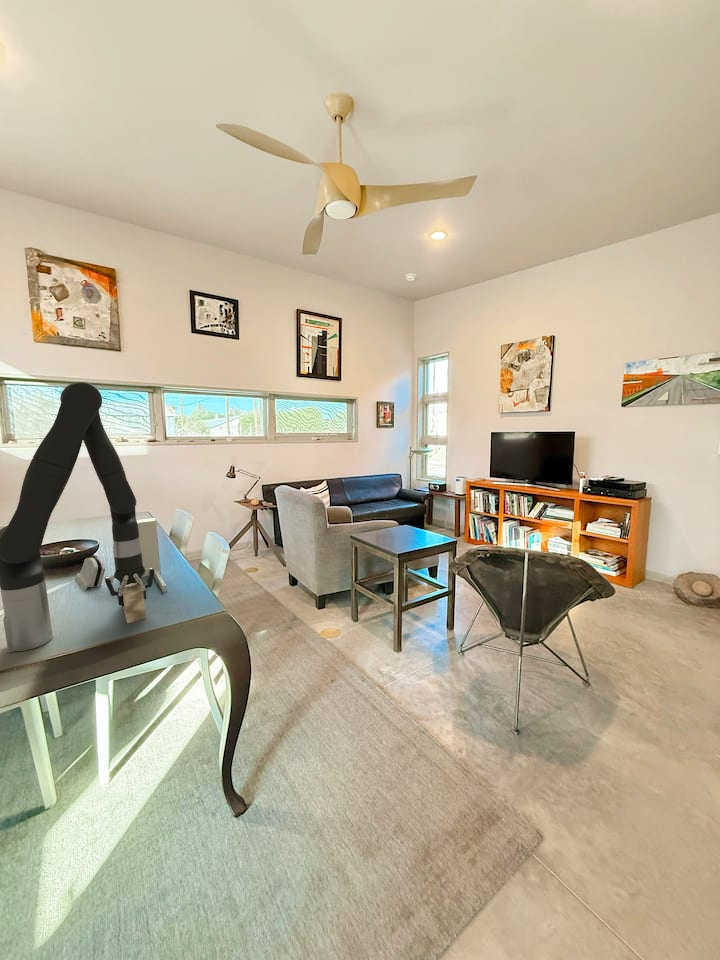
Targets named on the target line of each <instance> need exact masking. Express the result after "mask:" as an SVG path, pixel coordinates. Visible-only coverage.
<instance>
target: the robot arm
mask: <svg viewBox="0 0 720 960" xmlns="http://www.w3.org/2000/svg"><path fill="white" fill-rule="evenodd" d="M102 404H103V397H102V394H101V392H100V391H99V389H98V387H96V386H94V384H91V383H89V382H85V381H77V382H73V383H70V384H68V385H67V386H66V387H65V388H64V389H63V390H62V391H61V393H60V405H59V409H58V412H57V415H56V416H55V420H54V422H53V424H52V425H51V428H50V429H49V430H48V432H47V433H46V435H45V436H44V438H43V439H42V440H41V442H40V443H39V445H38V448H37V449H36V450H35V452H34V454H33V456H32V459H31V461H30V463H29V465H28V467H27V470H26V472H25V475H24V478H23V482H22V486H21V489H20V495H19V499H18V500H19V501H18V503H17V507H16V510H15V512H14V513H13V515H12V517H11V519H10V520H9V523H7V525H5V526H4V527H2V528H0V595H1V601H2V609H3V613H4V617H3V620H2V621H3V626H4V633H5V634H4V635H5V640H6V646H7V647H6V648H7V652H8V653H13V652H24V651H30V650H33V649H35V648H38V647H42V646H43V645H45V644H47V643H49V642H50V641H51V640H52V639H53V637H54V636H53V628H52V627H53V626H52V621H51V613H50V605H49V597H48V591H47V583H46V575H45V569H44V566H43V561H42V556H41V548H42V545H43V541H44V537H45V534H46V531H47V527H48V524H49V521H50V518H51V516H52V513H53V511H54V510H55V507H56V506H57V504H58V502H59V500H60V498H61V497H62V494H63V492H64V491H65V489H66V486H67V484H68V482H69V481H70V478H71V475H72V473H73V471H74V468H75V465H76V463H77V460H78V457H79V453H80V450H81V447H82V445H83V443H84V445H85V448H86V450H87V453H88V457H89V458H90V461H91V464H92V466H93V469H94V470H95V473H96V476H97V478H98V480H99V482H100V484H101V485H102V488H103V490H104V494H105V497H106V500H107V503H108V506H109V511H110V516H111V517H110V518H111V522H112V524H111V531H112V532H111V533H112V543H113V544H112V554H113V558H114V559H113V561H114V570H115V571H114V573H113V575H110V576H108V575H107V576H104V577H103V580H104V582H105V585H106V586H107V589H108V591H109V595H110V596H112V597H114V596H117V601H118V605H119V606H121V608H123V607H124V600H123V590H122V589H125V586H126V585H129V584H131V583H138V585H141V587H142V589H143V593H144V601H145V600H147V590H148V589H149V588H152V586H153V581H154V578H155V575H154V569H153V568H152V567H151V568H144V567H143V561H142V551H141V543H140V539H139V530H138V524H137V521H136V520H137V517H136V516H137V513H136V506H137V498H136V496H135V494H134V491H133V490H132V488H131V485H130V484H129V481H128V479H127V474H126V471H125V468H124V466H123V464H122V462H121V458H120V457H119V455H118V452H117V450H116V448H115V447H114V445H113V443H112V441H111V440H110V438H109V435H108V434H107V432H106V430H105V428H104V425H103V422H102V419H101V416H100V409H101V407H102ZM144 572H146V574H147V575H148V576H147V579H146V583H144V582H143V580H142V578H143V577H142V576H143V574H144ZM114 579H116V580H117V581H118V582H119V584H118V588H117V589H115V588H114V586H113V583H114Z"/></svg>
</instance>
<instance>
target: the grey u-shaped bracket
mask: <svg viewBox="0 0 720 960" xmlns="http://www.w3.org/2000/svg"><path fill="white" fill-rule="evenodd" d="M136 521H137V524H138V530H139V539H140V543H141V551H142V561H143V567H144V568H151V567H152V568H153V569H154V578H155V581H156V582H157V584H158V586H159V588H160V589H161V592H162V593H163V594H165V593H167V592H168V591H167V584H166V583H165V581H164V579H163V577H162V576H161V572H162V570H161V561H160V559H161V558H160V549H159V538H158V526H157V519H155V517H153V518H151V517H150V518H143V519H136ZM143 577H148V575H147V574H146V572H144V574H143V576H142V577H141V578H143Z"/></svg>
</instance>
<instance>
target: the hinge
mask: <svg viewBox="0 0 720 960" xmlns="http://www.w3.org/2000/svg"><path fill="white" fill-rule="evenodd" d="M105 571H106V567H105V563H104V561H103V560H102V559H101V558H97V557H86V558H85V559H84V562H83V565H82V567H81V570H80V572H78V573H76V575H75V578H74V579H75V581H76V582H77V583H78V584H79V586H80V587H81V588H82V590H83V591H85V592H86V591H87V590H88V588H89V587H90V588H91V587H92V588H94V587H95V586H96V587H97V588H100V587H102V584H103V580H104V577H105V573H106V572H105Z"/></svg>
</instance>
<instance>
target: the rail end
mask: <svg viewBox="0 0 720 960" xmlns="http://www.w3.org/2000/svg"><path fill="white" fill-rule="evenodd" d="M122 590H123V600H124V607H122V610H123V613H124V616H125V620H126V622H127V623H126V624H129V623H133V622H137V621H140V620H145V619H146V618H147V614H146V605H145V600H144V593H143V589H142V587H141V585H138V583H131V584H129V585H126V586H125V589H122Z"/></svg>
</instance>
